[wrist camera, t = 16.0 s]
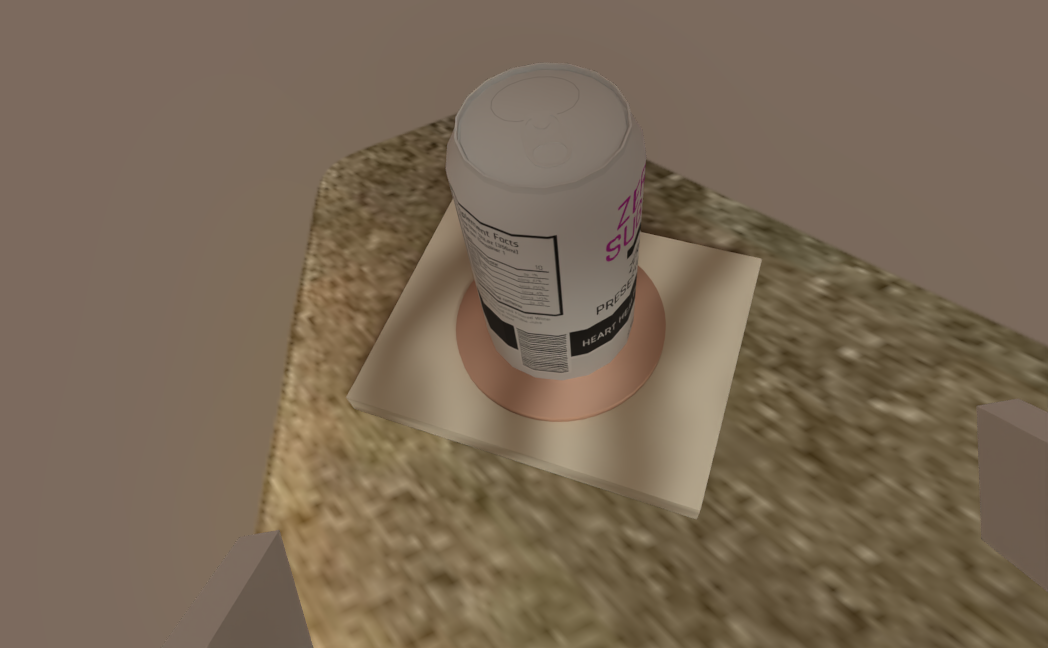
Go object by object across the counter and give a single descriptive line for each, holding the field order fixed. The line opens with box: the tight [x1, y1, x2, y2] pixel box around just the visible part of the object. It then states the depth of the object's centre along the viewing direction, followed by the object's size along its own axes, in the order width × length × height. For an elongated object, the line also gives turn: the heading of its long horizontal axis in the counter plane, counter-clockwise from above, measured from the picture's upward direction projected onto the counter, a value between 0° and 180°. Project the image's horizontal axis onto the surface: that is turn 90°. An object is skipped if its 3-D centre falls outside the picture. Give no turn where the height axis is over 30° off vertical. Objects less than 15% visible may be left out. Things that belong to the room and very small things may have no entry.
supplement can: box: [446, 62, 646, 380], centre depth 34 cm, size 8×8×15 cm
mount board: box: [346, 199, 762, 519], centre depth 41 cm, size 20×16×2 cm
